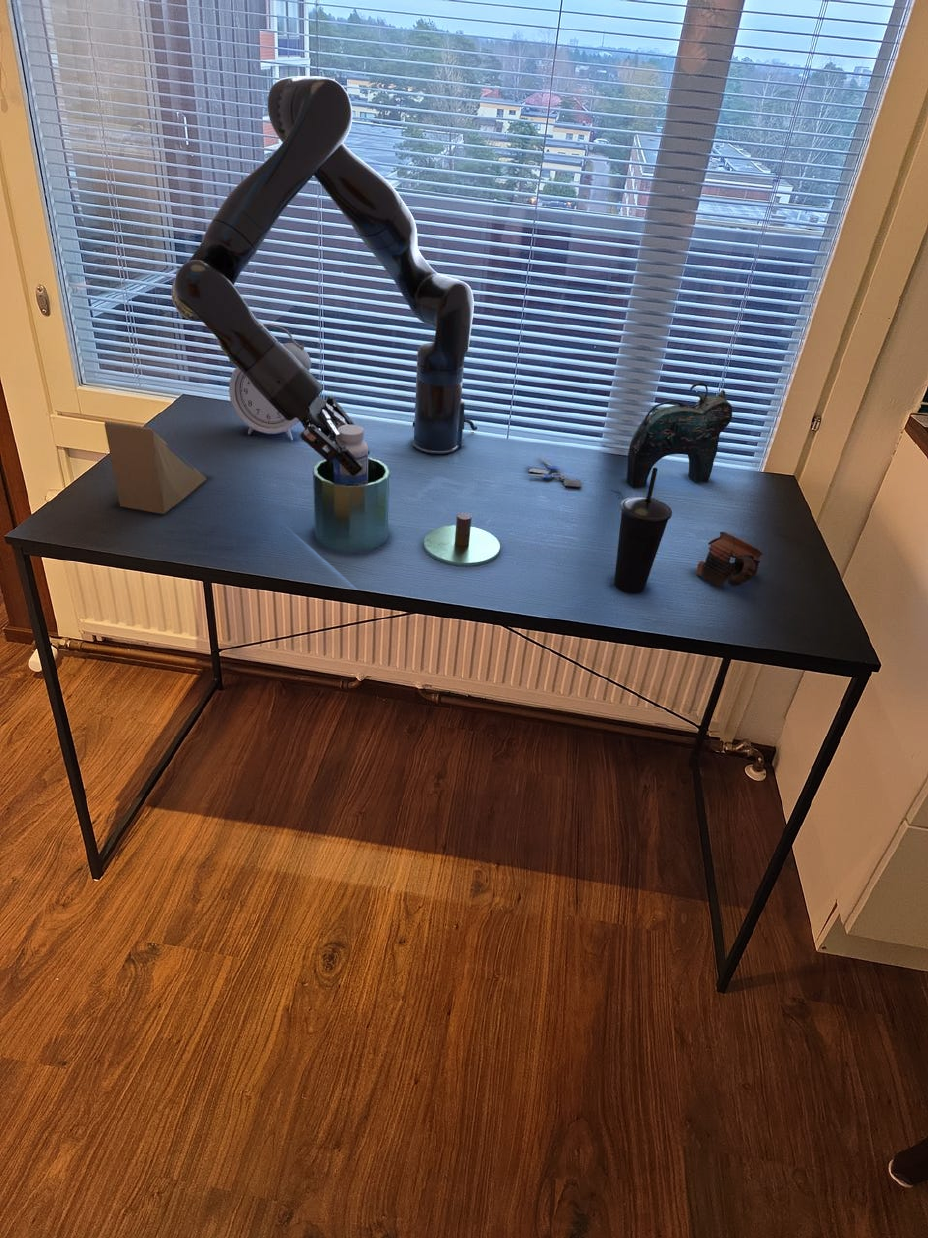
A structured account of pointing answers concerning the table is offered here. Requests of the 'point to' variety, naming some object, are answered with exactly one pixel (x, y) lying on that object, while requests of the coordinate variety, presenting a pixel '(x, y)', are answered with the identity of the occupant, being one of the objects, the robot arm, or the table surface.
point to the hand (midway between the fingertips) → (362, 463)
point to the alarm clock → (262, 397)
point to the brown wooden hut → (719, 561)
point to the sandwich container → (148, 469)
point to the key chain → (566, 481)
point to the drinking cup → (639, 539)
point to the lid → (461, 543)
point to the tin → (351, 508)
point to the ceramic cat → (679, 436)
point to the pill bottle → (359, 449)
